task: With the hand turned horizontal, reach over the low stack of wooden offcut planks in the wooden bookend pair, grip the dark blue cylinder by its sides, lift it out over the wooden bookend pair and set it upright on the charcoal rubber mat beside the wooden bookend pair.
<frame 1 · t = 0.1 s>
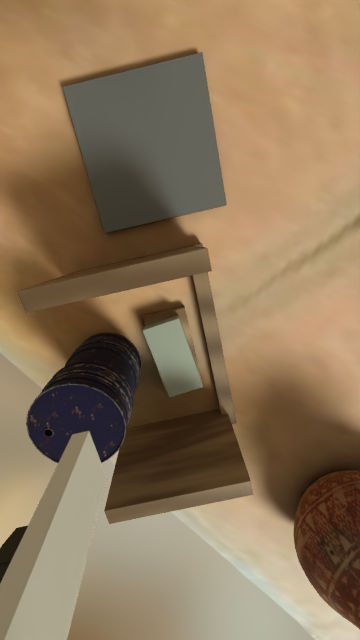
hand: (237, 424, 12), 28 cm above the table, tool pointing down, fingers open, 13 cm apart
dark blue cylinder: (109, 362, 42), on the table
jug: (337, 497, 51), on the table
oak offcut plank: (173, 346, 42), on the table, touching grey offcut plank
charcoal mat: (150, 151, 34), on the table
grey offcut plank: (173, 354, 40), point 1 cm above the table, touching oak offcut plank
wooden bookend pair: (160, 351, 41), on the table
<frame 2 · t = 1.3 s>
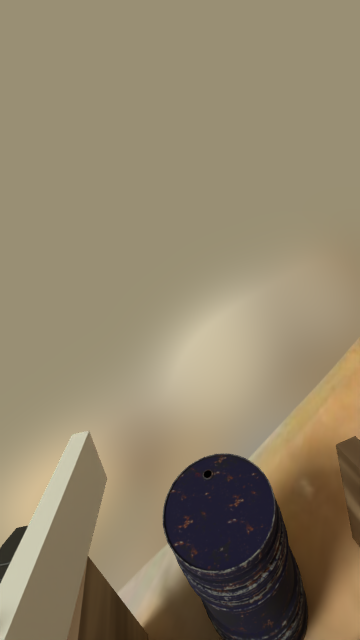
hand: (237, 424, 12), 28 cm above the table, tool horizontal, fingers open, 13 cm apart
dark blue cylinder: (257, 597, 28), on the table
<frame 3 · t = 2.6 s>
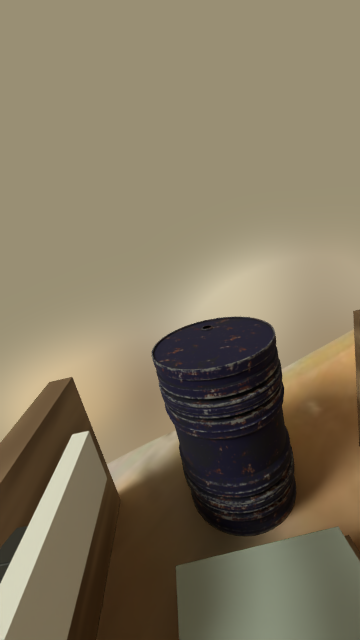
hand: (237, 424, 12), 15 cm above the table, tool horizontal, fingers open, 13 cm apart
dark blue cylinder: (241, 483, 26), on the table
grey offcut plank: (276, 614, 16), point 1 cm above the table, touching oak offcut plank
wooden bookend pair: (272, 584, 18), on the table
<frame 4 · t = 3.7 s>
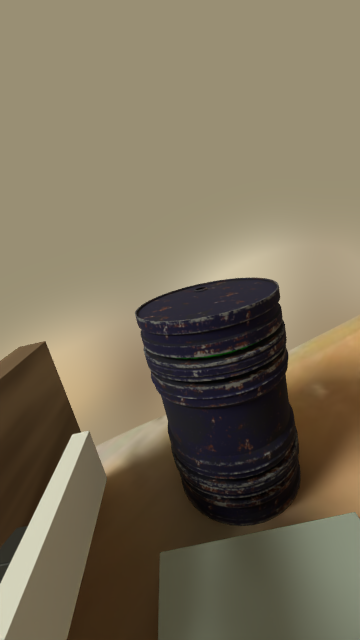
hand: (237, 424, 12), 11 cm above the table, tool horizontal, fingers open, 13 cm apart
dark blue cylinder: (238, 468, 23), on the table
grey offcut plank: (278, 614, 13), point 1 cm above the table
wooden bookend pair: (272, 581, 15), on the table
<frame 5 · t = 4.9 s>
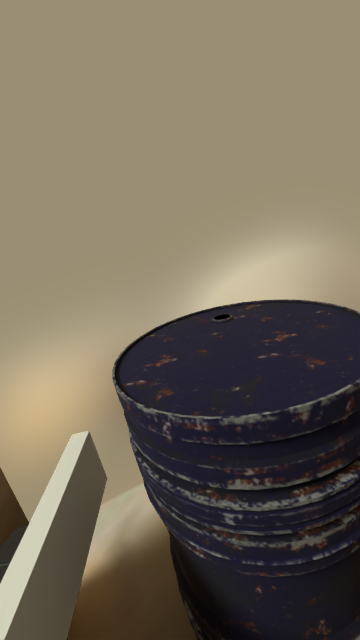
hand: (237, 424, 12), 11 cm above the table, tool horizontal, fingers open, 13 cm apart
dark blue cylinder: (277, 589, 15), on the table
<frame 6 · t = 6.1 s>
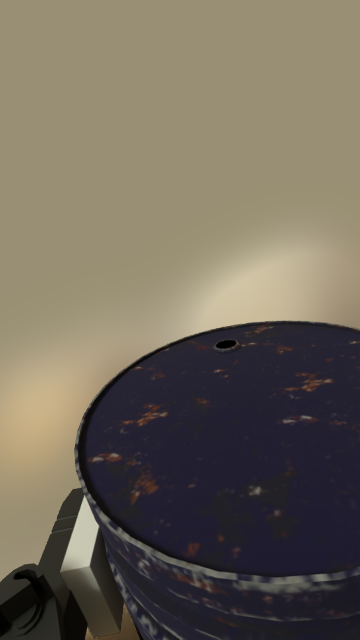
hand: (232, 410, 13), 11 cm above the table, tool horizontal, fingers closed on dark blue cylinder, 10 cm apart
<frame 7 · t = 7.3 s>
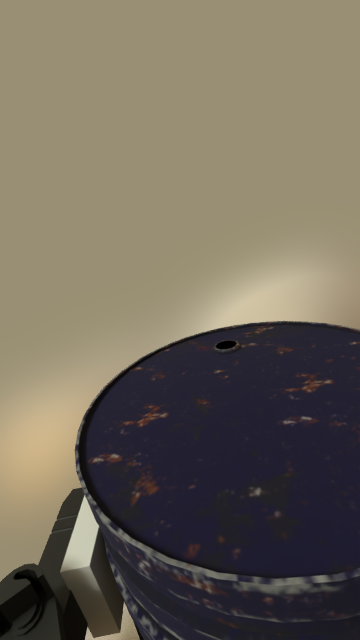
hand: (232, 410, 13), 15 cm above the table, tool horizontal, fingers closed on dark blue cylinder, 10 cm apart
when the fingers open (13 cm above the table, at t = 14.3 s): dark blue cylinder drops 1 cm, resting on charcoal mat.
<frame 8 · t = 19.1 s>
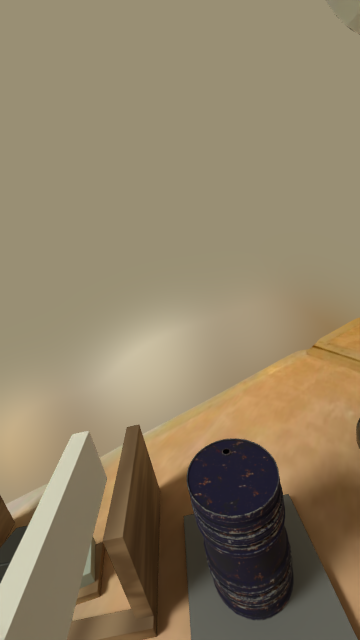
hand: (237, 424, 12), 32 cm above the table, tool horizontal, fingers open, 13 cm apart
dark blue cylinder: (251, 568, 33), point 1 cm above the table, touching charcoal mat
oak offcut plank: (60, 588, 37), on the table, touching grey offcut plank
charcoal mat: (252, 571, 34), on the table
grey offcut plank: (54, 579, 37), point 1 cm above the table, touching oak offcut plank
wooden bookend pair: (62, 567, 39), on the table
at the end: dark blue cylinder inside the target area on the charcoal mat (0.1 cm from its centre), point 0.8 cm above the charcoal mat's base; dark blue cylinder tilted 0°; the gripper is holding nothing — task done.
